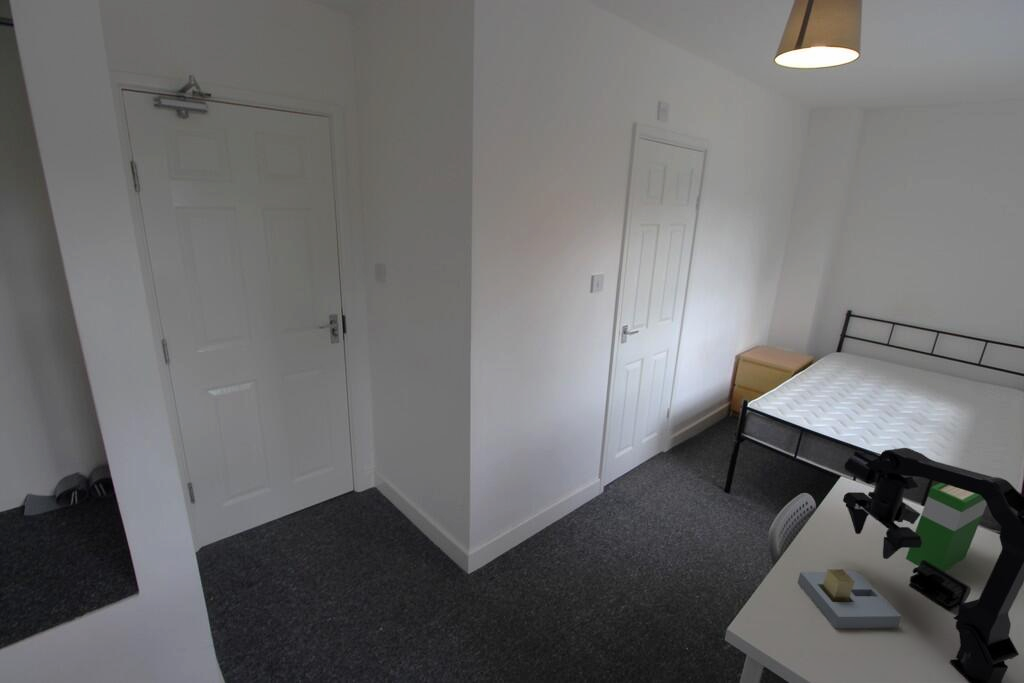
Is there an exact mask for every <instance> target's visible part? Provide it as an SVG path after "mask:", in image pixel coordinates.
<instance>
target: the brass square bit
mask: <svg viewBox="0 0 1024 683" xmlns="http://www.w3.org/2000/svg"><path fill="white" fill-rule="evenodd" d="M826 572H827V573H826V577H825V580H824V583H823V587H822V590H823V591H824V593H825V594H826V595H827V596H828V597H829V598H830V600H831V601H832V602H848V601H849V598H850V595H851V591H852V588H853V585H854V582H855V581H854V580H853V579H852V578H851V577H850V576H849V575H848V574H847V573H846V572H847V571H845V570H844V569H843V568H842V569H841V568H840V569H838V568H837V569H836V568H835V569H833V568H832V569H830V568H829V569H827V570H826Z"/></svg>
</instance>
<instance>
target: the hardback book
mask: <svg viewBox="0 0 1024 683" xmlns="http://www.w3.org/2000/svg"><path fill="white" fill-rule="evenodd" d="M923 506H924V507H923V510H922V513H921V515H920V516H919V521H918V523H917V526H916V529H915V531H914V532H915V533H916V534H918V535H919V536H920V537H921V538H922V539H923V541H922V544H921V547H920V548H908V551H907V554H906V557H905V560H907V561H909V562H910V563H912V564H914V565H915V566H916V567H918V566H920V563H921V561H922V560H926V561H927V562H929V563H931V564H933V565H934V566H936V567H938V568H939V569H941V570H943V571H944V572H946V571H947V570H949V569H950V568H952V567H954V566H955V565H956V564H958V563H959V562H961V561H963V560H964V559H966V557H967V554H968V552H969V550H970V547H971V544H972V542H973V540H974V537H975V534H976V532H977V529H978V527H979V525H980V522H981V519H982V517H983V514H984V513H985V510H986V507H987V506H988V505H987V503H986V501H985V500H984V499H983V497H982V496H981V495H979V494H976V493H973V492H969V491H966V490H963V489H959V488H956V487H953V486H950V485H946V484H943V483H940V482H939V483H937V484H936V485H933V486H931V487H930V490H929V493H928V495H927V498H926V501H925V504H924V505H923Z"/></svg>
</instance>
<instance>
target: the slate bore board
mask: <svg viewBox="0 0 1024 683" xmlns="http://www.w3.org/2000/svg"><path fill="white" fill-rule="evenodd" d="M845 572H846V573H847V574H848V575H849V576H850V577H851V578H852V579H853V580H854V581H855V582H854V585H853V588H852V591H851V595H850V598H849V601H848V602H832V601H831V600H830V598H829V597H828V596H827V595H826V594H825V593H824V591H823V590H822V587H823V583H824V580H825V577H826V573H827V571H800V572H799V575H798V580H797V584H798V585H799V587H800V588H801V589H802V590H803V591H804V593H805V594H806V596H808V597H809V599H810V600H811V601H812V602H813V603H814V605H815V606H816V607H817V608H818V610H819V611H820V612H821V613H822V615H823V616H824V617H825V618H826V619H827V621H828V622H829V623H830V624H831V626H832V627H833V629H871V628H872V629H881V628H882V629H886V628H887V629H891V628H892V629H894V628H895V629H896V628H899V625H900V622H901V621H902V620H901V619H902V615H901V614H900V613H899V612H898V610H896V609H895V608H894V607H893V606H892V604H890V603H889V601H887V600H886V599H885V598H884V596H882V594H880V592H878V591H877V590H876V589H875V588H874V587H873V586H872V585H871V584H870V583H869V582H868V581H867V580H866V579H865V578H864V577H863V576H862V575H861V574H860V572H859V571H845Z"/></svg>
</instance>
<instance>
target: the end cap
mask: <svg viewBox="0 0 1024 683" xmlns="http://www.w3.org/2000/svg"><path fill="white" fill-rule="evenodd" d="M912 573H913V575H912V576H910V577H909V578H910V579H909V584H908V586H909V588H911V589H913V590H914V591H916V592H917V593H919V594H921V595H922V596H924V597H925V598H927V600H928V599H929V601H931V602H933V603H934V604H936V605H938V606H939V607H941V608H943V609H944V610H945V611H948V612H950V611H952V610H954V609H955V608H958V607H960V605H961V604H963V603H966V601H967V599H968V598H969V596H970V594H971V591H972V588H971V587H970V585H968V584H966V583H964V582H963V581H961V580H960V579H958V578H956V577H954V576H953V575H951V574H950V573H948V572H946V571H945V572H944V571H943V570H941V569H939V568H938V567H936V566H934V565H933V564H931V563H929V562H927V561H926V560H922V561H921V563H920V566H916V567H914V568H913V569H912Z"/></svg>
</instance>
